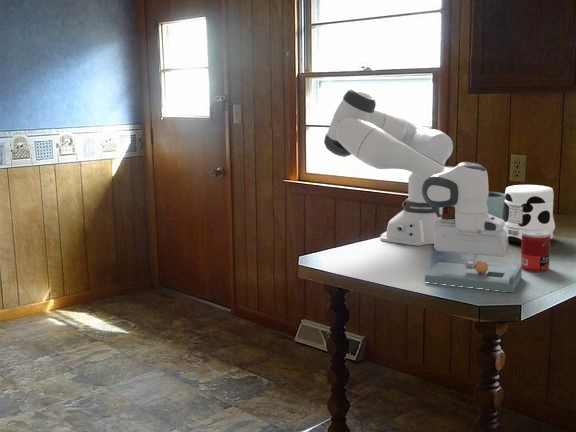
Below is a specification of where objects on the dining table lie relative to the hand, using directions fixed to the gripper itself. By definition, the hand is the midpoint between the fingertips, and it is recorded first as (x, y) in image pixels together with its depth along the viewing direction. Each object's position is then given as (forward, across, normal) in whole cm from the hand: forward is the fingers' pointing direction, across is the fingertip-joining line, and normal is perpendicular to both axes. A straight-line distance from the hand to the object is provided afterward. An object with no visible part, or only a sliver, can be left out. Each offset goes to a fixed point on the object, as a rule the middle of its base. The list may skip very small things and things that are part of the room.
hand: (470, 268), depth 195 cm
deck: (+4, +1, 0) cm, 4 cm away
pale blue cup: (+4, -9, +68) cm, 69 cm away
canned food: (+4, +15, +18) cm, 24 cm away
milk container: (+4, +8, +50) cm, 51 cm away
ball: (-1, +3, 0) cm, 3 cm away
